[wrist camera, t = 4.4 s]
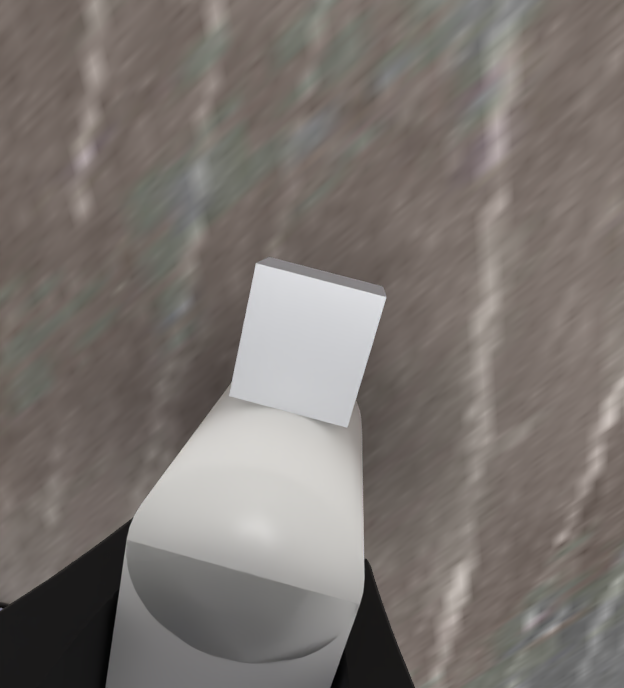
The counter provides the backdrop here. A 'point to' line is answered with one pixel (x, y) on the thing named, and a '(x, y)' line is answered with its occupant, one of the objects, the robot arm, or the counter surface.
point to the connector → (259, 505)
